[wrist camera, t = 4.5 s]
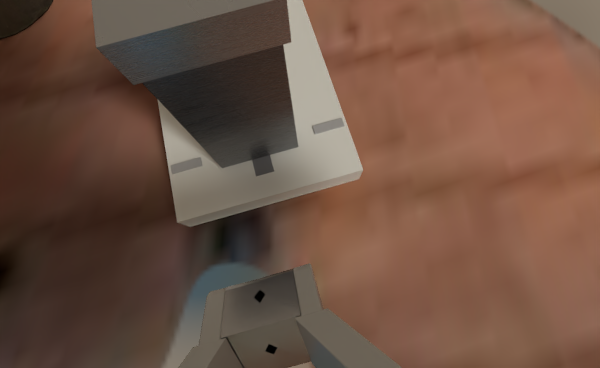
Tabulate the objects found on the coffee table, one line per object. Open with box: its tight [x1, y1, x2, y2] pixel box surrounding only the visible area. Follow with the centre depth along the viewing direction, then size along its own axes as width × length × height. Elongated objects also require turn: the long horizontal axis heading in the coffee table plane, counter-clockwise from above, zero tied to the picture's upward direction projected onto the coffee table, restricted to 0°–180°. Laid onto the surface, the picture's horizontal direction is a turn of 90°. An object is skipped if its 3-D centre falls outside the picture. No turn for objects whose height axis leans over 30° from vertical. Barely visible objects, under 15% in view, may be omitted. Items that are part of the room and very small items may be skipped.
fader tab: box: [92, 0, 298, 168], centre depth 14 cm, size 6×2×11 cm, turn 105°
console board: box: [157, 0, 363, 227], centre depth 22 cm, size 12×21×2 cm, turn 15°
